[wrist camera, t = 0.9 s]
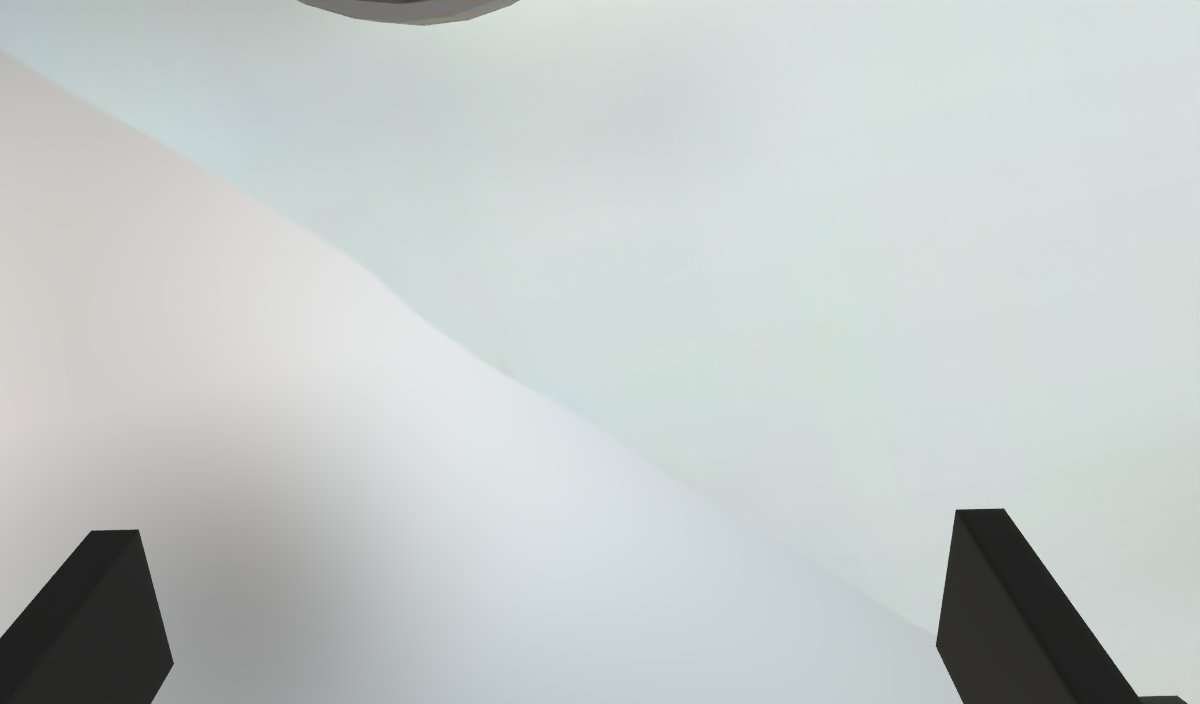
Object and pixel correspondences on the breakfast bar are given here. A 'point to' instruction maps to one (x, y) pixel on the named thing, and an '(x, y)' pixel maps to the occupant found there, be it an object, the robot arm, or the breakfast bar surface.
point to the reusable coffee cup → (411, 9)
